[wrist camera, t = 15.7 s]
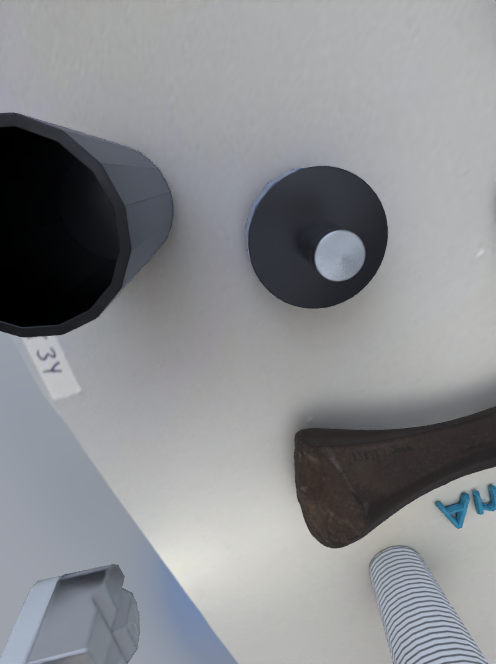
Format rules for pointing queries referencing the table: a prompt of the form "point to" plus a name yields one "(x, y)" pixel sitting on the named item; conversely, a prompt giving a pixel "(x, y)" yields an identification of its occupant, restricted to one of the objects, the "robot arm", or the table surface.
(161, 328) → the table surface
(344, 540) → the dark brown bone
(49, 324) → the pot
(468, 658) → the cup
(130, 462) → the table surface
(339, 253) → the lid
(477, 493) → the nameplate
